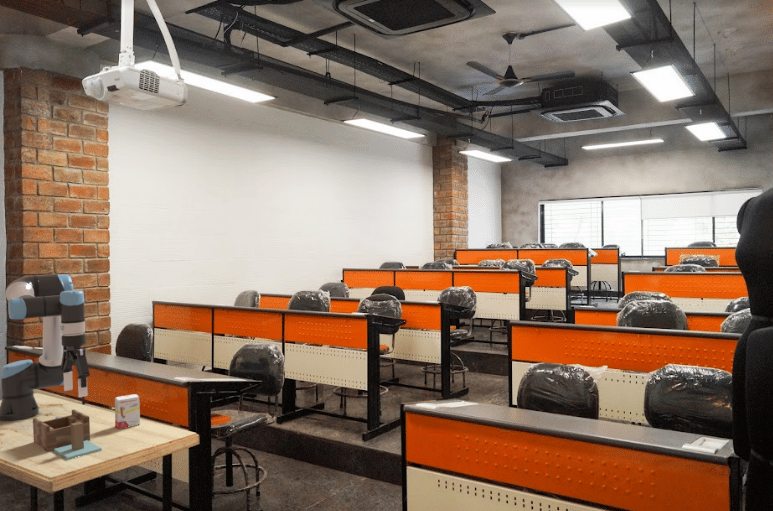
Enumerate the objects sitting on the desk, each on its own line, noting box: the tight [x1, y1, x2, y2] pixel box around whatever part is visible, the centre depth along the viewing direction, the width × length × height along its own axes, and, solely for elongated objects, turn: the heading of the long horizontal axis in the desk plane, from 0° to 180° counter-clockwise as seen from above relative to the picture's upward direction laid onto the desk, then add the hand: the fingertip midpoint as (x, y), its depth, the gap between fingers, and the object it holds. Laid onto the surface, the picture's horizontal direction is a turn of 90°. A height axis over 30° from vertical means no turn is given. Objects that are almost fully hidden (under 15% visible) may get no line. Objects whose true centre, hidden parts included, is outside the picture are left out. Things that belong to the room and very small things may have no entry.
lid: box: [53, 422, 103, 461], centre depth 204 cm, size 13×11×10 cm
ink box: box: [114, 393, 141, 430], centre depth 231 cm, size 9×5×12 cm, turn 127°
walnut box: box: [32, 409, 91, 452], centre depth 214 cm, size 15×14×9 cm
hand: (75, 393), depth 203 cm, fingers open, 13 cm apart
